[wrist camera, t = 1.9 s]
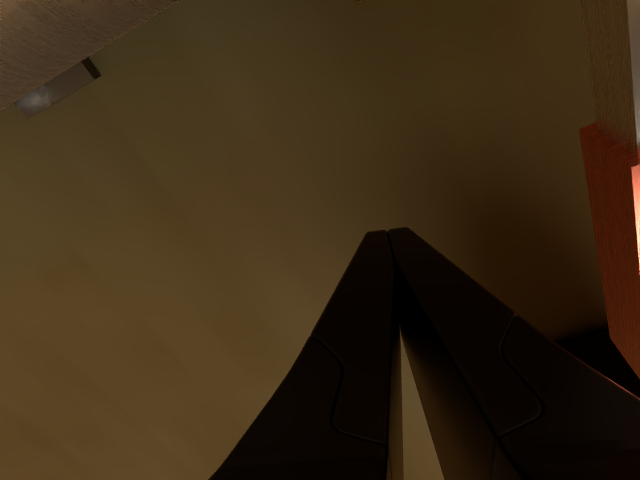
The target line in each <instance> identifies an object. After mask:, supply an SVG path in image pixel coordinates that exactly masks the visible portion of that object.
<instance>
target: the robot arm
mask: <svg viewBox="0 0 640 480" xmlns="http://www.w3.org/2000/svg"><path fill="white" fill-rule="evenodd" d="M399 326H400V327H399ZM400 331H401V336H402V340H403V343H404V347H405V350H406V354H407V357H408V360H409V363H410V367H411V370H412V373H413V377H414V380H415V383H416V387H417V390H418V393H419V397H420V400H421V403H422V407H423V410H424V413H425V417H426V420H427V423H428V426H429V430H430V433H431V436H432V440H433V443H434V446H435V450H436V453H437V456H438V460H439V463H440V466H441V470H442V473H443V476H444V480H640V379H639V378H638V376H637V375H636V373H635V372H634V371H633V369H632V368H631V366H630V365H629V364H628V362H627V361H626V359H625V358H624V357H623V355H622V354H621V353H620V351H619V350H618V348H617V347H616V346H615V344H614V343H613V341H612V340H611V339H610V333H609V328H608V329H604V330H601V331H597V332H594V333H590V334H587V335H583V336H579V337H576V338H572V339H569V340H565V341H562V342H558V343H555V342H554V341H552V340H551V339H550V338H548V337H547V336H545V335H544V334H543V333H541V332H540V331H539V330H537V329H536V328H535V327H534V326H532V325H531V324H530V323H528V322H527V321H526V320H525V319H523V318H522V317H521V316H519V315H517V316H516V313H515V312H514V311H513V310H512V309H510V308H509V307H508V306H507V305H505V304H504V303H503V302H502V301H500V300H499V299H498V298H497V297H495V296H494V295H493V294H491V293H490V292H489V291H488V290H486V289H485V288H484V287H483V286H481V285H480V284H479V283H478V282H476V281H475V280H474V279H472V278H471V277H470V276H469V275H467V274H466V273H465V272H464V271H462V270H461V269H460V268H459V267H457V266H456V265H455V264H453V263H452V262H451V261H450V260H448V259H447V258H446V257H445V256H443V255H442V254H441V253H440V252H438V251H437V250H436V249H435V248H433V247H432V246H431V245H429V244H428V243H427V242H426V241H424V240H423V239H422V238H421V237H419V236H418V235H417V234H416V233H414V232H413V231H412V230H410V229H409V228H407V227H403V228H395V229H389V230H388V232H386V231H385V230H379V231H371V232H367V233H366V234H365V236H364V238H363V240H362V241H361V243H360V245H359V247H358V249H357V250H356V252H355V254H354V256H353V258H352V260H351V261H350V263H349V265H348V267H347V269H346V271H345V272H344V274H343V276H342V278H341V280H340V282H339V283H338V285H337V287H336V289H335V291H334V293H333V294H332V296H331V298H330V300H329V302H328V303H327V305H326V307H325V309H324V311H323V313H322V314H321V316H320V318H319V320H318V322H317V324H316V325H315V327H314V329H313V331H312V333H311V336H310V337H309V338H308V340H307V341H306V343H305V345H304V347H303V349H302V351H301V352H300V354H299V356H298V357H297V359H296V361H295V362H294V364H293V366H292V367H291V369H290V371H289V372H288V374H287V375H286V377H285V378H284V380H283V381H282V383H281V384H280V386H279V387H278V388H277V390H276V391H275V393H274V394H273V396H272V397H271V398H270V400H269V401H268V402H267V404H266V405H265V407H264V408H263V409H262V411H261V412H260V413H259V415H258V416H257V417H256V419H255V420H254V422H253V423H252V424H251V426H250V427H249V428H248V430H247V431H246V432H245V434H244V435H243V437H242V438H241V439H240V441H239V442H238V443H237V445H236V446H235V447H234V449H233V450H232V451H231V453H230V454H229V456H228V457H227V458H226V460H225V461H224V462H223V463H222V465H221V466H220V467H219V468H218V469H217V471H216V472H215V473H214V474H213V475H212V476H211V477H210V478H209V479H208V480H403V433H402V386H401V343H400Z"/></svg>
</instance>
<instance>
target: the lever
mask: <svg viewBox="0 0 640 480" xmlns="http://www.w3.org/2000/svg"><path fill="white" fill-rule="evenodd" d="M581 7H582V15H583V23H584V31H585V39H586V47H587V55H588V63H589V71H590V79H591V87H592V95H593V103H594V111H595V119H596V123H593V124H591V125H588V126H586V127H583V128H581V129H579V132H580V139H581V146H582V152H583V159H584V166H585V172H586V179H587V186H588V192H589V199H590V206H591V212H592V219H593V226H594V232H595V239H596V246H597V253H598V259H599V266H600V273H601V279H602V286H603V293H604V299H605V306H606V313H607V319H608V326H609V333H610V339H611V340H612V341H613V343H614V344H615V346H616V347H617V348H618V350H619V351H620V353H621V354H622V355H623V357H624V358H625V359H626V361H627V362H628V364H629V365H630V366H631V368H632V369H633V371H634V372H635V373H636V375H637V376H638V378H639V379H640V0H581Z"/></svg>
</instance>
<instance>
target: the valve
mask: <svg viewBox="0 0 640 480" xmlns="http://www.w3.org/2000/svg"><path fill="white" fill-rule="evenodd" d="M179 1H180V0H0V111H1V110H2V109H4V108H6V107H7V106H9V105H10V104H12V103H15V104H16V106H17V107H18V108H19V109H20V110H21V111H22V112H23V113H24V115H25V116H26V117H27V118H30V117H32V116H34V115H35V114H37V113H39V112H40V111H42V110H44V109H45V108H47V107H49V106H50V105H52V104H54V103H56V102H57V101H59V100H61V99H62V98H64V97H66V96H67V95H69V94H71V93H72V92H74V91H76V90H78V89H79V88H81V87H83V86H84V85H86V84H88V83H89V82H91V81H93V80H94V79H96V78H98V77H99V76H101V75H100V74H99V72H98V71H97V70H96V68H95V67H94V66H93V64H92V63H91V62H90V60H89V59H88V58H87V57H89V56H90V55H92V54H94V53H95V52H97V51H99V50H100V49H102V48H103V47H105V46H107V45H108V44H110V43H112V42H113V41H115V40H117V39H118V38H120V37H121V36H123V35H125V34H126V33H128V32H130V31H131V30H133V29H134V28H136V27H138V26H139V25H141V24H143V23H144V22H146V21H148V20H149V19H151V18H152V17H154V16H156V15H157V14H159V13H161V12H162V11H164V10H165V9H167V8H169V7H170V6H172V5H174V4H175V3H177V2H179ZM363 1H365V0H355V2H356V4H357V5H358V4H359V3H361V2H363Z"/></svg>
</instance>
